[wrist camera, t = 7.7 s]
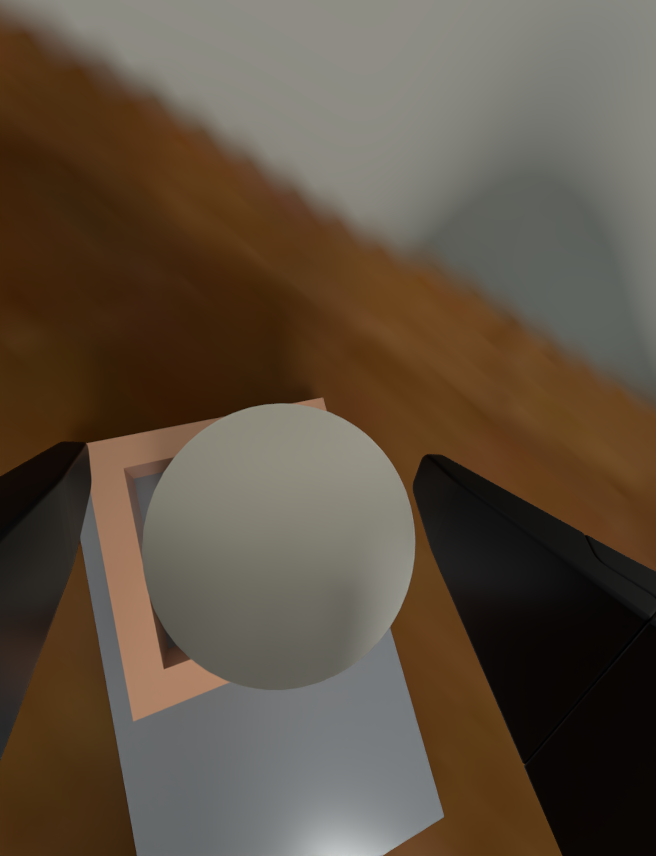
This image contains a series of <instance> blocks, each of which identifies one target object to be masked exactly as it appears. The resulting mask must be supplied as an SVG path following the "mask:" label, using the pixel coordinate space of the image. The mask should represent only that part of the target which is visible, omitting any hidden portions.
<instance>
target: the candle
mask: <svg viewBox="0 0 656 856" xmlns="http://www.w3.org/2000/svg"><path fill="white" fill-rule="evenodd" d="M142 558H143V571H144V576H145V581H146V586H147V591H148V594H149V596H150V599H151V602H152V605H153V608H154V610H155V612H156V614H157V616H158V618H159V620H160V622H161V623H162V625H163V627H164V629H165V630H166V632H167V633H168V634H169V636H170V637H171V638H172V640H173V641H174V642H175V644H176V645H177V646H178V647H179V648H180V649H181V650H182V651H183V652H184V653H185V654H186V655H187V656H188V657H189V658H190V659H191V660H193V661H194V662H195V663H197V664H198V665H200V666H201V667H202V668H204V669H205V670H206V671H208V672H210V673H212V674H214V675H216V676H218V677H220V678H222V679H224V680H226V681H229V682H232V683H235V684H238V685H241V686H244V687H250V688H256V689H262V690H286V689H294V688H301V687H305V686H309V685H312V684H316V683H319V682H322V681H324V680H326V679H329V678H331V677H333V676H335V675H338V674H339V673H341V672H342V671H344V670H346V669H347V668H349V667H350V666H352V665H354V664H355V663H356V662H357V661H359V660H360V659H361V658H362V657H363V656H365V655H366V654H367V653H368V652H369V651H370V650H371V649H372V648H373V647H374V646H375V645H376V644H377V643H378V642H379V640H380V639H381V638H382V637H383V635H384V634H385V633H386V631H387V630H388V628H389V627H390V626H391V624H392V623H393V621H394V619H395V617H396V615H397V614H398V612H399V610H400V608H401V606H402V603H403V601H404V598H405V596H406V593H407V591H408V587H409V583H410V580H411V576H412V571H413V564H414V558H415V531H414V521H413V516H412V510H411V506H410V503H409V499H408V496H407V493H406V490H405V488H404V486H403V483H402V481H401V479H400V477H399V475H398V473H397V471H396V470H395V468H394V466H393V465H392V463H391V461H390V460H389V459H388V457H387V456H386V455H385V454H384V452H383V451H382V450H381V449H380V447H379V446H378V445H377V444H376V443H375V442H374V441H373V440H372V439H371V438H370V437H369V436H367V435H366V434H365V433H364V432H362V431H361V430H360V429H359V428H357V427H356V426H354V425H353V424H351V423H349V422H348V421H346V420H345V419H343V418H341V417H338V416H336V415H334V414H332V413H330V412H327V411H324V410H321V409H318V408H315V407H309V406H304V405H299V404H284V403H281V404H265V405H260V406H255V407H250V408H247V409H244V410H241V411H238V412H235V413H232V414H230V415H228V416H226V417H224V418H221V419H219V420H217V421H216V422H214V423H213V424H211V425H209V426H208V427H206V428H205V429H203V430H202V431H201V432H199V433H198V434H197V435H196V436H195V437H193V438H192V439H191V440H190V441H189V442H188V443H187V444H186V445H185V446H184V447H183V448H182V449H181V450H180V451H179V453H178V454H177V455H176V456H175V457H174V458H173V460H172V461H171V463H170V464H169V466H168V467H167V469H166V470H165V471H164V473H163V475H162V477H161V479H160V481H159V483H158V485H157V487H156V488H155V490H154V493H153V496H152V499H151V502H150V504H149V507H148V511H147V515H146V520H145V525H144V530H143V543H142Z"/></svg>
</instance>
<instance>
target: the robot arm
mask: <svg viewBox="0 0 656 856" xmlns="http://www.w3.org/2000/svg"><path fill="white" fill-rule="evenodd" d="M91 484H92V478H91V467H90V457H89V448H88V446H87V444H86V443H84V442H66V441H64V442H60V443H58V444H56V445H54V446H53V447H51V448H49V449H47V450H46V451H44V452H42V453H40V454H39V455H37V456H35V457H33V458H32V459H30V460H28V461H26V462H25V463H23V464H21V465H19V466H18V467H16V468H14V469H12V470H11V471H9V472H7V473H5V474H4V475H2V476H0V760H1V757H2V755H3V752H4V749H5V747H6V744H7V741H8V739H9V736H10V733H11V731H12V728H13V725H14V722H15V720H16V717H17V714H18V712H19V709H20V706H21V704H22V701H23V698H24V696H25V693H26V690H27V688H28V685H29V682H30V680H31V677H32V674H33V672H34V669H35V666H36V664H37V661H38V658H39V656H40V653H41V650H42V648H43V645H44V642H45V640H46V637H47V634H48V632H49V629H50V626H51V624H52V621H53V618H54V616H55V613H56V610H57V608H58V605H59V602H60V600H61V597H62V594H63V592H64V589H65V586H66V584H67V581H68V578H69V576H70V573H71V570H72V567H73V564H74V561H75V557H76V553H77V549H78V544H79V540H80V536H81V531H82V527H83V522H84V518H85V514H86V509H87V505H88V500H89V496H90V492H91ZM413 493H414V497H415V500H416V503H417V507H418V510H419V513H420V516H421V520H422V523H423V526H424V529H425V533H426V536H427V539H428V542H429V545H430V548H431V550H432V553H433V555H434V558H435V560H436V563H437V565H438V567H439V569H440V572H441V574H442V576H443V579H444V581H445V583H446V586H447V588H448V590H449V593H450V595H451V597H452V600H453V602H454V604H455V607H456V609H457V611H458V614H459V616H460V618H461V621H462V623H463V625H464V628H465V630H466V632H467V635H468V637H469V639H470V641H471V644H472V646H473V648H474V651H475V653H476V655H477V658H478V660H479V662H480V665H481V667H482V669H483V672H484V674H485V676H486V679H487V681H488V683H489V686H490V688H491V690H492V693H493V695H494V697H495V700H496V702H497V704H498V707H499V709H500V711H501V713H502V716H503V718H504V720H505V723H506V725H507V727H508V730H509V732H510V734H511V737H512V739H513V741H514V744H515V746H516V748H517V751H518V753H519V755H520V758H521V760H522V762H523V763H524V764H525V765H524V768H525V770H526V772H527V775H528V777H529V779H530V782H531V784H532V786H533V788H534V791H535V793H536V795H537V798H538V800H539V802H540V805H541V807H542V809H543V812H544V814H545V816H546V819H547V821H548V823H549V826H550V828H551V830H552V833H553V835H554V837H555V840H556V842H557V844H558V847H559V849H560V851H561V853H562V856H656V571H654V570H652V569H650V568H648V567H646V566H644V565H642V564H640V563H638V562H636V561H634V560H632V559H630V558H629V557H627V556H625V555H623V554H621V553H619V552H617V551H616V550H614V549H612V548H610V547H608V546H606V545H604V544H603V543H601V542H599V541H597V540H595V539H594V538H592V537H590V536H588V535H584V534H583V533H582V532H581V531H579V530H577V529H575V528H574V527H572V526H570V525H568V524H566V523H564V522H563V521H561V520H559V519H557V518H555V517H554V516H552V515H550V514H548V513H546V512H545V511H543V510H541V509H539V508H537V507H536V506H534V505H532V504H530V503H528V502H527V501H525V500H523V499H521V498H519V497H518V496H516V495H514V494H512V493H510V492H508V491H507V490H505V489H503V488H501V487H499V486H498V485H496V484H494V483H492V482H490V481H489V480H487V479H485V478H483V477H481V476H480V475H478V474H476V473H474V472H472V471H471V470H469V469H467V468H465V467H463V466H462V465H460V464H458V463H456V462H454V461H452V460H451V459H449V458H447V457H445V456H443V455H439V454H427V455H425V456H424V457H423V458H422V460H421V462H420V465H419V468H418V471H417V473H416V476H415V479H414V482H413Z"/></svg>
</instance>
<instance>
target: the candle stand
mask: <svg viewBox="0 0 656 856" xmlns="http://www.w3.org/2000/svg"><path fill="white" fill-rule="evenodd" d="M292 404H299V405H304V406H309V407H315V408H318V409H321V410H324V411H327V410H326V407H325V403H324V400H323V398H318V399H313V400H308V401H302V402H297V403H292ZM327 412H328V411H327ZM225 417H226V416H225ZM221 418H224V417H220V418H215V419H210V420H205V421H199V422H194V423H189V424H184V425H179V426H174V427H169V428H163V429H158V430H153V431H148V432H143V433H138V434H132V435H127V436H122V437H117V438H112V439H107V440H102V441H96V442H91V443H86V444H87V446H88V448H89V457H90V467H91V478H92V484H91V492H90V496H89V500H88V505H87V509H86V514H85V518H84V522H83V527H82V531H81V536H80V539H81V544H82V550H83V556H84V561H85V567H86V572H87V578H88V584H89V589H90V595H91V600H92V606H93V612H94V617H95V623H96V628H97V634H98V640H99V645H100V651H101V656H102V662H103V668H104V673H105V679H106V684H107V690H108V696H109V701H110V707H111V712H112V718H113V724H114V729H115V735H116V740H117V746H118V752H119V757H120V763H121V768H122V774H123V780H124V785H125V791H126V796H127V802H128V808H129V813H130V819H131V824H132V830H133V836H134V841H135V847H136V852H137V856H382V855H384V854H385V853H387V852H389V851H390V850H392V849H393V848H395V847H397V846H398V845H400V844H401V843H403V842H405V841H406V840H408V839H409V838H411V837H413V836H414V835H416V834H417V833H419V832H421V831H422V830H424V829H425V828H427V827H429V826H430V825H432V824H433V823H435V822H437V821H438V820H440V819H441V818H443V817H444V814H443V811H442V807H441V804H440V800H439V797H438V793H437V790H436V786H435V783H434V779H433V776H432V772H431V769H430V765H429V762H428V758H427V755H426V751H425V748H424V744H423V741H422V737H421V734H420V731H419V727H418V724H417V720H416V717H415V713H414V710H413V706H412V703H411V699H410V696H409V692H408V689H407V685H406V682H405V678H404V675H403V671H402V668H401V664H400V661H399V657H398V654H397V650H396V647H395V643H394V640H393V636H392V633H391V629H390V627H389V628H388V630H387V631H386V633H385V634H384V635H383V637H382V638H381V639H380V640H379V642H378V643H377V644H376V645H375V646H374V647H373V648H372V649H371V650H370V651H369V652H368V653H367V654H366V655H365V656H363V657H362V658H361V659H360V660H359V661H357V662H356V663H355V664H354V665H352V666H350V667H349V668H347V669H346V670H344V671H342V672H341V673H339V674H338V675H335V676H333V677H331V678H329V679H326V680H324V681H322V682H319V683H316V684H312V685H309V686H305V687H301V688H294V689H286V690H262V689H256V688H250V687H244V686H241V685H238V684H235V683H232V682H229V681H226V680H224V679H222V678H220V677H218V676H216V675H214V674H212V673H210V672H208V671H206V670H205V669H204V668H202V667H201V666H200V665H198V664H197V663H195V662H194V661H193V660H191V659H190V658H189V657H188V656H187V655H186V654H185V653H184V652H183V651H182V650H181V649H180V648H179V647H178V646H177V645H176V644H175V642H174V641H173V640H172V638H171V637H170V636H169V634H168V633H167V632H166V630H165V629H164V627H163V625H162V623H161V622H160V620H159V618H158V616H157V614H156V612H155V610H154V608H153V605H152V602H151V599H150V596H149V594H148V591H147V586H146V581H145V576H144V571H143V558H142V543H143V530H144V525H145V520H146V515H147V511H148V507H149V504H150V502H151V499H152V496H153V493H154V490H155V488H156V487H157V485H158V483H159V481H160V479H161V477H162V475H163V473H164V471H165V470H166V469H167V467H168V466H169V464H170V463H171V461H172V460H173V458H174V457H175V456H176V455H177V454H178V453H179V451H180V450H181V449H182V448H183V447H184V446H185V445H186V444H187V443H188V442H189V441H190V440H191V439H192V438H193V437H195V436H196V435H197V434H198V433H199V432H201V431H202V430H203V429H205V428H206V427H208V426H209V425H211V424H213V423H214V422H216V421H217V420H219V419H221Z"/></svg>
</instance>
